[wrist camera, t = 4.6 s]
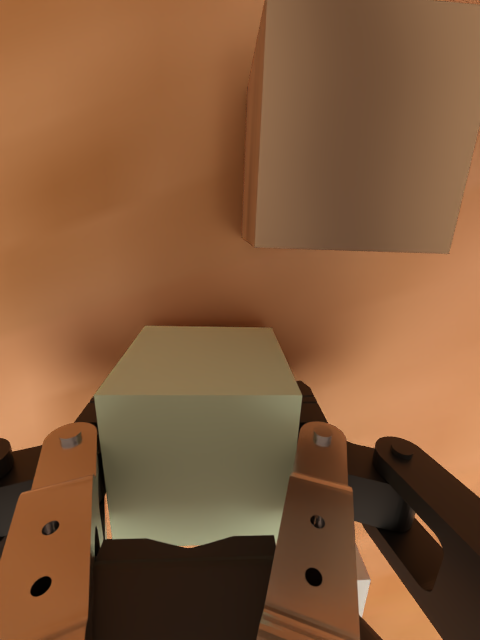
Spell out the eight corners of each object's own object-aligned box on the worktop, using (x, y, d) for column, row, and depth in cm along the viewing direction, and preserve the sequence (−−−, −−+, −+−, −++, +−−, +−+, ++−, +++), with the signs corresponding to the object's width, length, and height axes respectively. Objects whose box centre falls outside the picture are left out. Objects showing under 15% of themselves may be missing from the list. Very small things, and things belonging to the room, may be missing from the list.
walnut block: (384, 98, 11) (508, 7, 6) (362, 241, 13) (449, 253, 8) (246, 89, 11) (267, -16, 6) (241, 237, 12) (254, 247, 8)
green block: (271, 327, 12) (302, 395, 8) (264, 432, 14) (285, 542, 9) (144, 325, 12) (93, 394, 7) (151, 432, 14) (113, 547, 9)
